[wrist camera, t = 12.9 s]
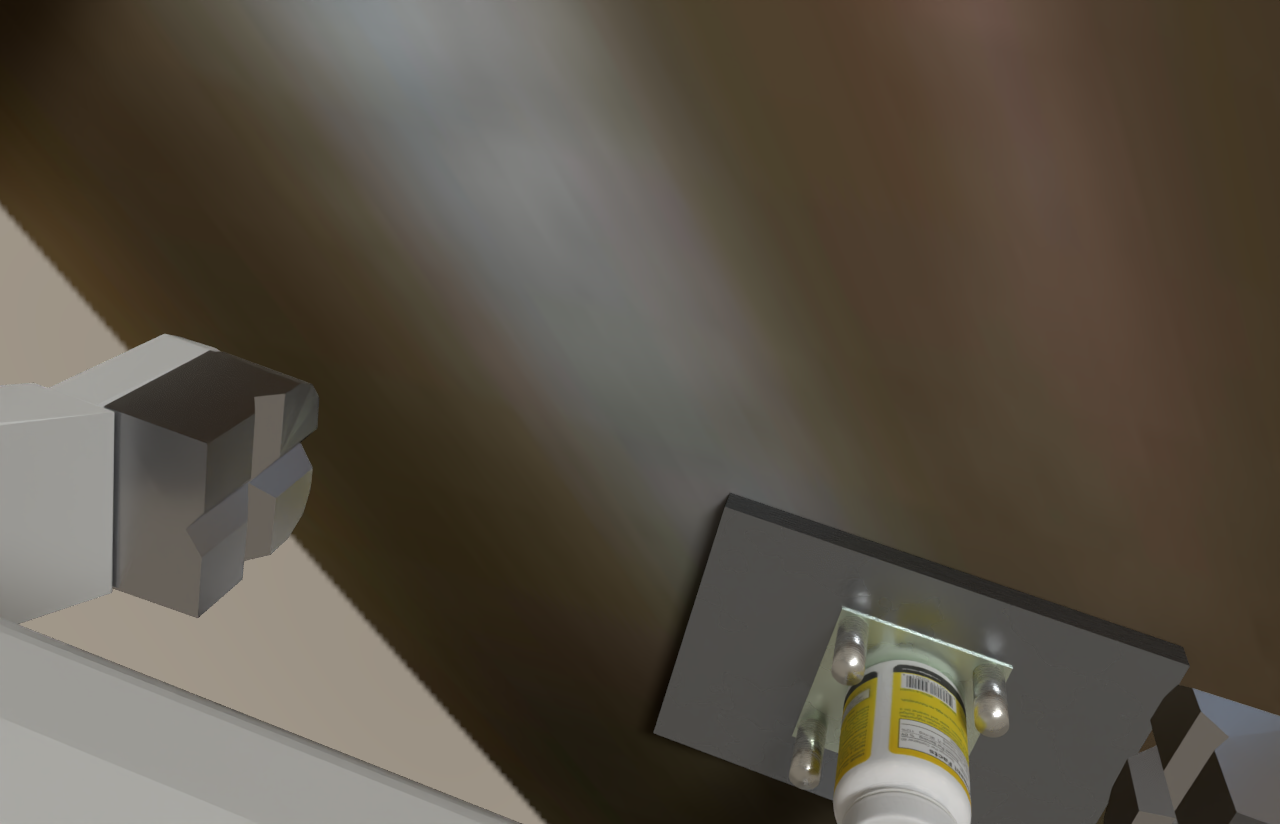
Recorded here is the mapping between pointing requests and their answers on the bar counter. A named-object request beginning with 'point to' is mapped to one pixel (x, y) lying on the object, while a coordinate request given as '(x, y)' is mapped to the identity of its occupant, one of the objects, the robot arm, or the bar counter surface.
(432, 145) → the bar counter surface
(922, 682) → the supplement bottle
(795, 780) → the grey fixture plate
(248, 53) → the bar counter surface
